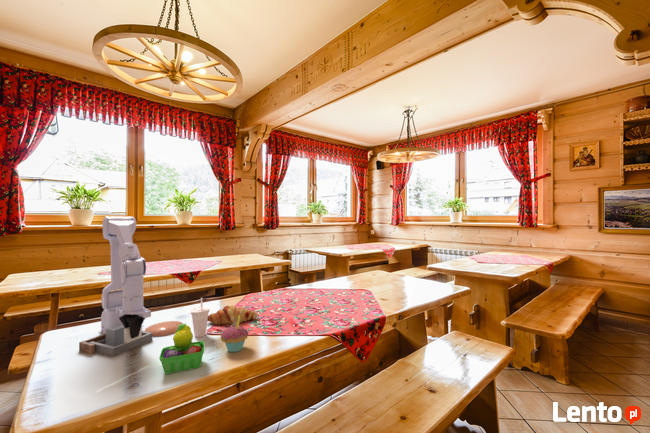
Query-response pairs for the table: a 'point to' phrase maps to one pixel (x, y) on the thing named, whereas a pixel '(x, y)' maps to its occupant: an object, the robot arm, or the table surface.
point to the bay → (90, 344)
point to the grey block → (115, 335)
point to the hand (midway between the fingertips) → (132, 336)
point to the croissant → (231, 315)
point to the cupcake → (234, 337)
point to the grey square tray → (127, 344)
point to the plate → (163, 328)
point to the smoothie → (200, 320)
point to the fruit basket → (182, 352)
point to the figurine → (235, 323)
